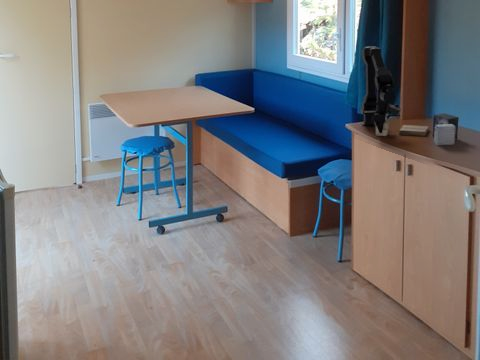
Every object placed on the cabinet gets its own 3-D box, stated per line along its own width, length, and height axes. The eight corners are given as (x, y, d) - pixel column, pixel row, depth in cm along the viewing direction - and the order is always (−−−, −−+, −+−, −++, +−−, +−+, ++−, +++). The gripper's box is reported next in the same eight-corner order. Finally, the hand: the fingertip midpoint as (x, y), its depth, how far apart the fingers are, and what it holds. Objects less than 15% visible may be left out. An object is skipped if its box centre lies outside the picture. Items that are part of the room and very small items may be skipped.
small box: (431, 136, 298) (432, 114, 295) (442, 134, 300) (443, 112, 297) (446, 141, 289) (448, 118, 285) (457, 139, 291) (459, 116, 288)
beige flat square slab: (403, 128, 314) (403, 124, 313) (428, 130, 309) (428, 126, 309) (399, 134, 303) (399, 130, 303) (424, 135, 299) (425, 131, 298)
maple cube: (377, 132, 308) (378, 120, 306) (388, 133, 306) (388, 121, 304) (375, 135, 303) (375, 123, 302) (386, 135, 302) (386, 123, 300)
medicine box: (450, 142, 286) (452, 123, 283) (454, 144, 282) (455, 126, 279) (433, 143, 286) (434, 124, 283) (437, 145, 281) (438, 126, 279)
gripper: (396, 104, 288) (395, 137, 293) (403, 96, 305) (402, 128, 309) (372, 103, 293) (371, 135, 297) (380, 96, 309) (379, 127, 314)
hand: (381, 131), depth 304 cm, fingers closed on maple cube, 5 cm apart
